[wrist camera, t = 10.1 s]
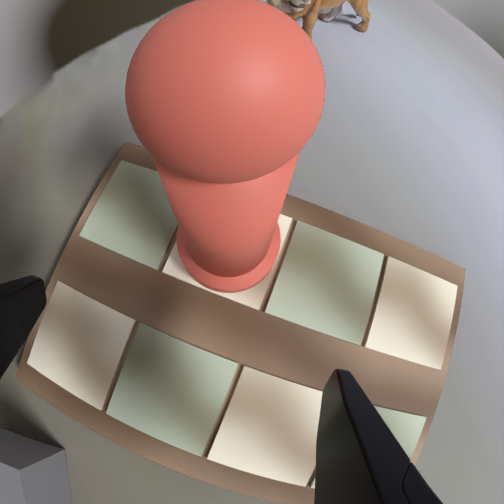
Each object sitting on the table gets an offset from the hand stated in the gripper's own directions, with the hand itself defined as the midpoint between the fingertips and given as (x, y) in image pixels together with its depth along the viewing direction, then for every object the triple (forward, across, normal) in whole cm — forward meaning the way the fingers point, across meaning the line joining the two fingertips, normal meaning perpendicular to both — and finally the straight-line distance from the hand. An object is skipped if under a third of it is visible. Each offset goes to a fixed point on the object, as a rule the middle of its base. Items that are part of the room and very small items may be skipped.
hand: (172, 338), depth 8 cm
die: (-2, +8, +14) cm, 17 cm away
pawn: (+9, 0, +1) cm, 9 cm away
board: (+7, -2, +5) cm, 9 cm away
